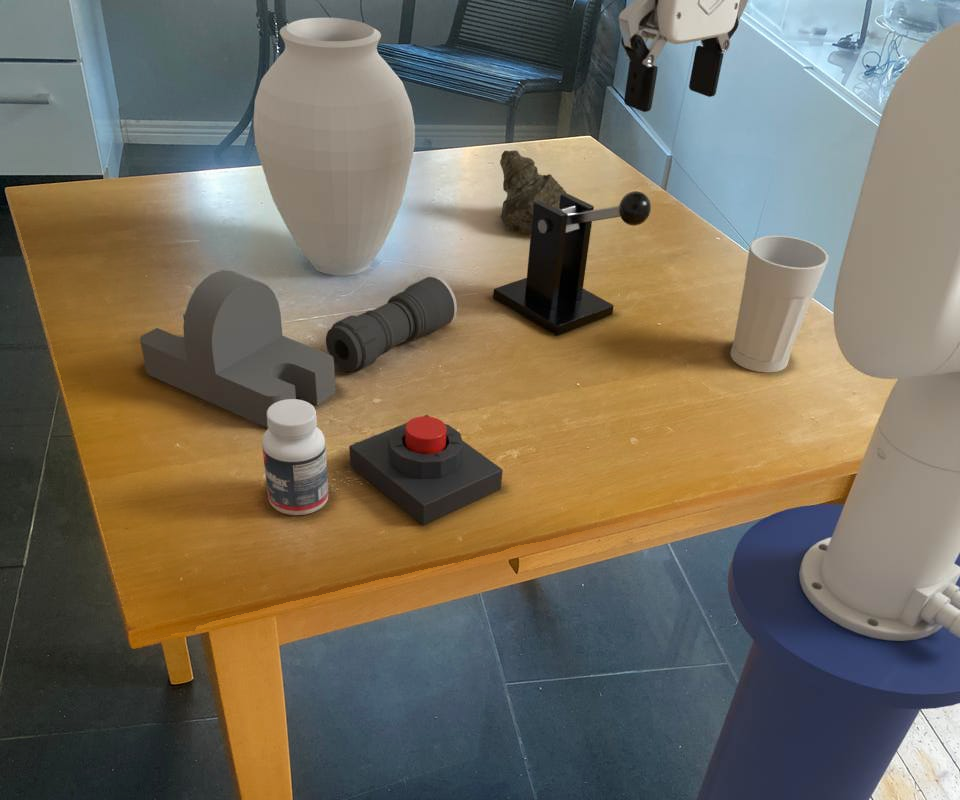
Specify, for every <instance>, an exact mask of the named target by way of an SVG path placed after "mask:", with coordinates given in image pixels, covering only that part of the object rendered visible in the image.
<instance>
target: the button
mask: <svg viewBox="0 0 960 800" xmlns="http://www.w3.org/2000/svg"><path fill="white" fill-rule="evenodd" d="M406 423H407V424H406V427H405V444H406V447H407V448H408V449H409V450H410V451H412V452H416V453H420V454H436V453H438V452H440V451H442V450H443V449H444V448H445V446H446V425H445V424H446V423H445V422H444V421H442V420H441V419H439V418H437V417H433V416H429V417H427V416H425V415H423V416H416V417H414V418H412V419H410V420H409V421H407V422H406Z"/></svg>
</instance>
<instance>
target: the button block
mask: <svg viewBox="0 0 960 800" xmlns="http://www.w3.org/2000/svg"><path fill="white" fill-rule="evenodd" d="M424 416H427V417H430V416H429V415H428V414H426V415H424ZM407 423H408V422H406V423H403V424H400V425H398V426H395V427H393V428H391V429H388V430H385V431H382V432H381V433H378V434H375V435H373V436H370V437H367V438H365V439H363V440H360V441H358V442H355V443H353V444H351V445H349V446H348V449H349V466H350V467H351V468H353V470H355V471H356V472H357V473H358V474H360V475H361V476H362V477H364V478H365V480H367V481H368V482H370V483H371V484H372V485H373V486H374V487H376V488H377V489H378V490H379V491H381V492H382V493H383V494H384V495H385V496H387V497H388V498H389V499H390V500H391V501H392V502H394V503H395V505H397V506H399V507H400V508H401V509H403V511H405V512H406V513H407V514H408V515H410V516H411V517H412V518H414V519H415V520H416V522H418V523H419V524H421V526H426V525H428V524H429V523H432V522H434V521H436V520H438V519H441V518H442V517H445V516H446V515H447V516H448V514H451V513H454V512H455V511H457V510H460V509H462V508H464V507H467V506H468V505H470V504H472V503H474V502H476V501H479V500H481V499H483V498H485V497H487V496H489V495H492V494H494V493H496V492H498V491H500V490H501V489H502V484H503V483H502V481H503V471H504V469H503V468H501V467H500V466H498V464H496V463H495V462H493V461H492V460H490V459H489V458H487V457H486V456H485V455H483V454H482V453H481V452H479V451H478V450H477V449H475V448H474V447H473V446H471V445H470V444H468V443H467V442H466V441H464V440H463V438H462V435H461V433H460V431H458V430H457V429H455V428H454V427H453V426H451V425H450V424H447V423H444V424H445V425H446V446H445V448H444V449H443V450H442V451H440V452H438V453H436V454H420V453H416V452H412V451H410V450H409V449H408V448H407V447H406V444H405V427H406V424H407Z"/></svg>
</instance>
